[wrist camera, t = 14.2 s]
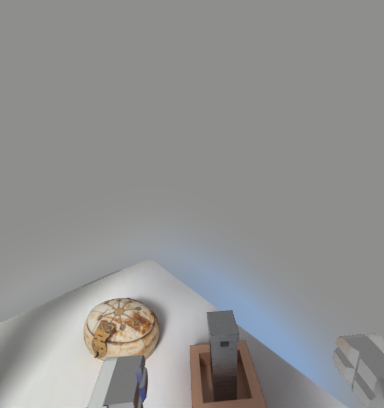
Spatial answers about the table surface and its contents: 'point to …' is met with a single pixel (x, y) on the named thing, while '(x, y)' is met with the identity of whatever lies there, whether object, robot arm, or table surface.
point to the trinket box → (121, 329)
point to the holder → (203, 387)
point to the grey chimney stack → (223, 354)
